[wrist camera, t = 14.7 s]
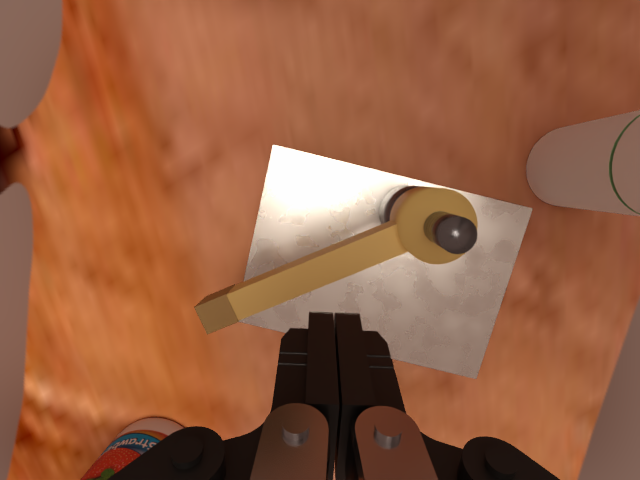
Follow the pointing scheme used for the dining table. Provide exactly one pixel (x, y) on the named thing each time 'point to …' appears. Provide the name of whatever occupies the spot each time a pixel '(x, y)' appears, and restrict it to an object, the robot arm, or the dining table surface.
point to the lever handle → (341, 258)
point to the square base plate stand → (394, 274)
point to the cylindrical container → (589, 165)
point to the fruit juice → (130, 446)
